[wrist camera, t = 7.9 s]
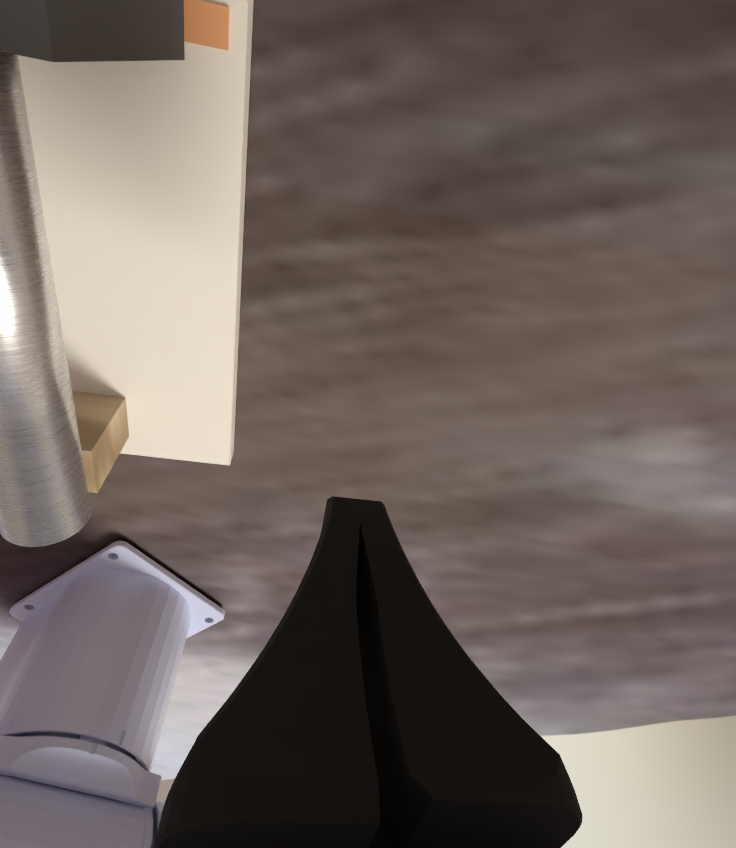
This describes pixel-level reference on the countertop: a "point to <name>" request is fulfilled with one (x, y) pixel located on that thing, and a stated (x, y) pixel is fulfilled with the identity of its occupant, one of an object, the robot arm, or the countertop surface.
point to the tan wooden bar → (100, 433)
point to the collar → (93, 30)
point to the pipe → (32, 352)
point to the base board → (151, 226)
